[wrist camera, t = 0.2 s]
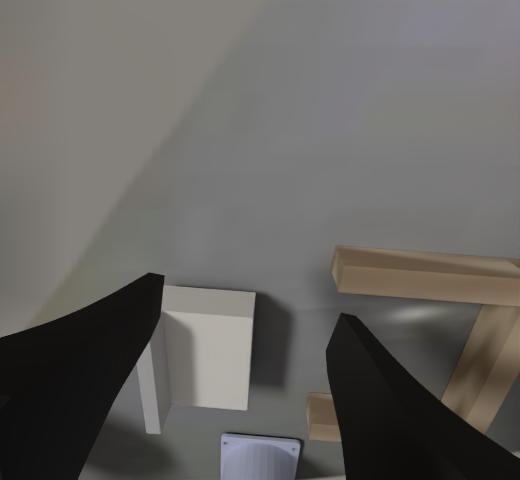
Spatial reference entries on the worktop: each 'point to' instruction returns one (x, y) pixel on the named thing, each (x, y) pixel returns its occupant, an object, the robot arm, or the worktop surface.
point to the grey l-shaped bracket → (197, 353)
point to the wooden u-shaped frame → (448, 289)
